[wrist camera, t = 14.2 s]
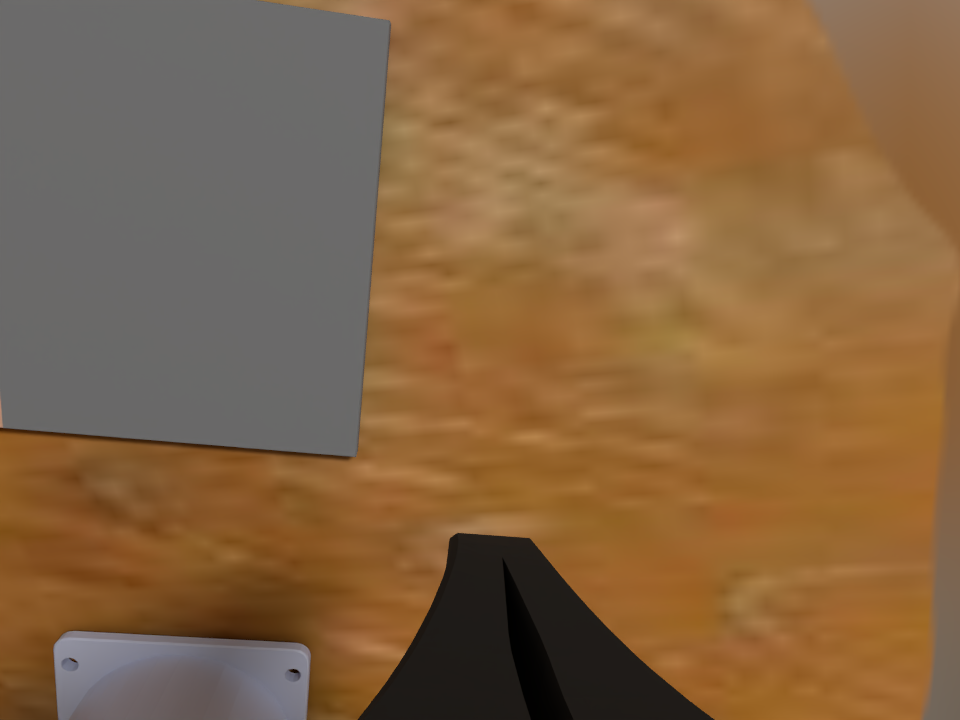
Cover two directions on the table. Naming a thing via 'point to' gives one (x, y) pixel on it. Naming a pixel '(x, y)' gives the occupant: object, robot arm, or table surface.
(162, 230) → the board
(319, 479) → the table surface
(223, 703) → the robot arm
